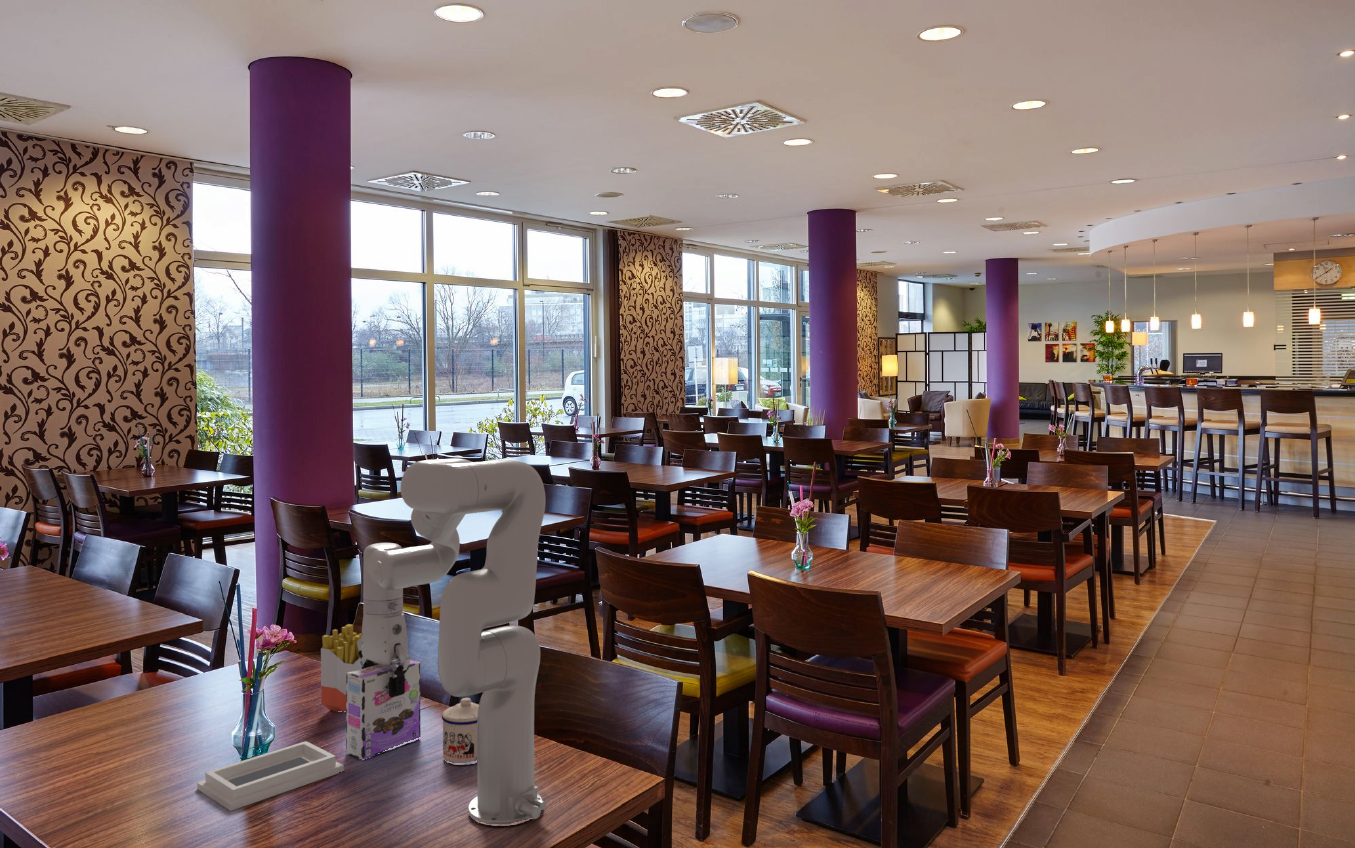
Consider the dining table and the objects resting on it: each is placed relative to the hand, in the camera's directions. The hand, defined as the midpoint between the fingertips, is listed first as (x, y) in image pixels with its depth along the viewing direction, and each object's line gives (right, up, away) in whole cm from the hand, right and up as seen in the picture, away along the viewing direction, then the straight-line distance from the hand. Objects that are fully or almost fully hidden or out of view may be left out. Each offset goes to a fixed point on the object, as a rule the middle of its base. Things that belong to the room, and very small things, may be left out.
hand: (382, 689), depth 183 cm
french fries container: (-15, -11, +22) cm, 29 cm away
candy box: (0, -12, 0) cm, 12 cm away
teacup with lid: (+19, -12, -5) cm, 23 cm away
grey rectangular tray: (-15, -12, -15) cm, 25 cm away
